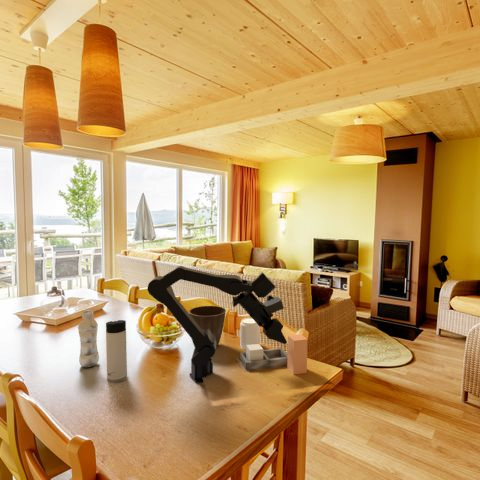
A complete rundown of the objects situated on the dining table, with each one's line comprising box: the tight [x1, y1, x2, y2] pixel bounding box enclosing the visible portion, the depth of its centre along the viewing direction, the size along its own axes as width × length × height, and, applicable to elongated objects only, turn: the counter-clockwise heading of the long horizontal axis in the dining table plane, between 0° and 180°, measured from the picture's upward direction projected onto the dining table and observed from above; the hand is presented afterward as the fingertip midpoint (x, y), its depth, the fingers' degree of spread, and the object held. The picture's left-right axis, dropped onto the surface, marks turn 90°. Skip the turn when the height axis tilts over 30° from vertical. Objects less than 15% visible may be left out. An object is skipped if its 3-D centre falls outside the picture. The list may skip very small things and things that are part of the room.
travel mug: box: [105, 319, 128, 384], centre depth 110 cm, size 6×7×20 cm
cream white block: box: [245, 344, 264, 361], centre depth 121 cm, size 5×5×6 cm
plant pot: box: [188, 305, 227, 349], centre depth 136 cm, size 15×15×16 cm
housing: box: [236, 347, 288, 373], centre depth 122 cm, size 19×11×4 cm, turn 105°
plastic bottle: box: [77, 309, 100, 368], centre depth 120 cm, size 6×7×20 cm
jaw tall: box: [287, 333, 308, 375], centre depth 115 cm, size 5×5×13 cm
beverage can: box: [239, 317, 261, 351], centre depth 136 cm, size 8×8×12 cm
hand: (281, 337), depth 115 cm, fingers open, 9 cm apart
